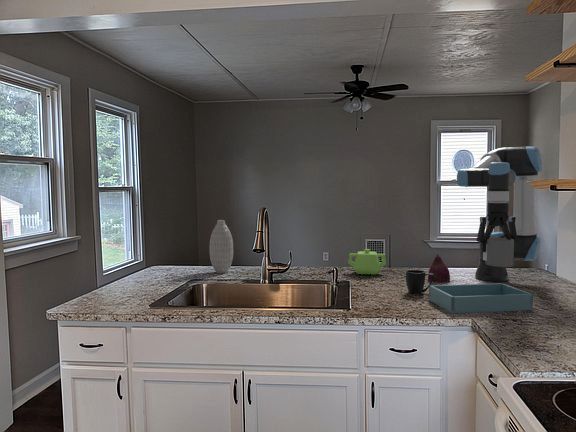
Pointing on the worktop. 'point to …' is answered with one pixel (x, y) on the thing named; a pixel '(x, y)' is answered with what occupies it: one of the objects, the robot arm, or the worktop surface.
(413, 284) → the mug
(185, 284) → the worktop surface
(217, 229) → the vase
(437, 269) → the vegetable
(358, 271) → the green rounded pot
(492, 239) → the coffee mug
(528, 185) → the robot arm
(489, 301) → the tote
